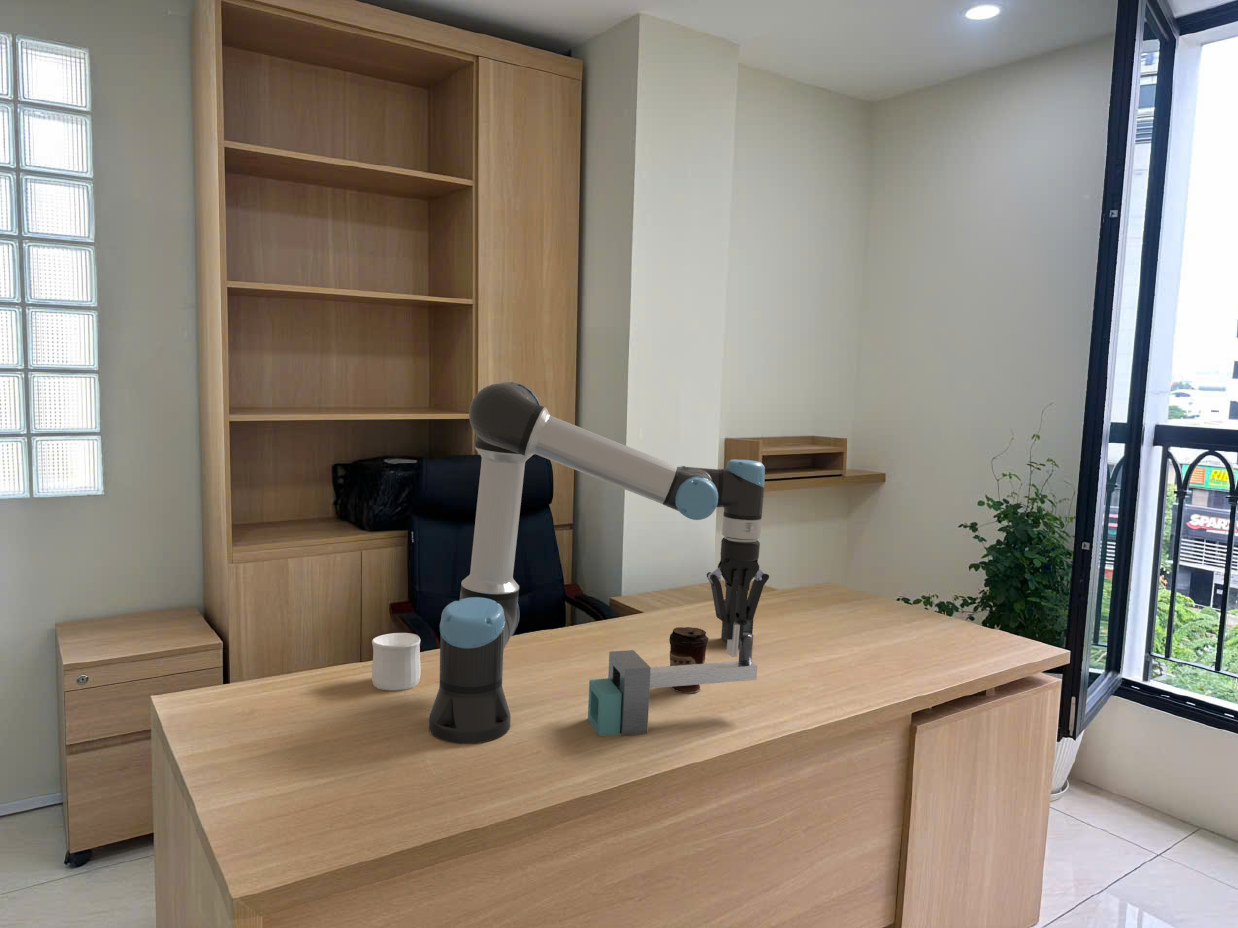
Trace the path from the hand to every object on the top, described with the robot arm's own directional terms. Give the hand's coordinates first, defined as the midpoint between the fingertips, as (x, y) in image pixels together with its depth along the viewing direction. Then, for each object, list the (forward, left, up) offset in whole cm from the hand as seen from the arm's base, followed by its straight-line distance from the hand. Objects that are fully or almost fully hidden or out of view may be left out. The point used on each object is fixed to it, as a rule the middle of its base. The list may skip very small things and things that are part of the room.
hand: (732, 654), depth 171 cm
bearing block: (-22, 0, -13) cm, 25 cm away
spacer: (-26, 0, -13) cm, 29 cm away
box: (+22, +42, -13) cm, 49 cm away
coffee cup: (-3, +15, -13) cm, 20 cm away
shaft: (-8, 0, -5) cm, 9 cm away
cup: (-63, +30, -13) cm, 71 cm away
